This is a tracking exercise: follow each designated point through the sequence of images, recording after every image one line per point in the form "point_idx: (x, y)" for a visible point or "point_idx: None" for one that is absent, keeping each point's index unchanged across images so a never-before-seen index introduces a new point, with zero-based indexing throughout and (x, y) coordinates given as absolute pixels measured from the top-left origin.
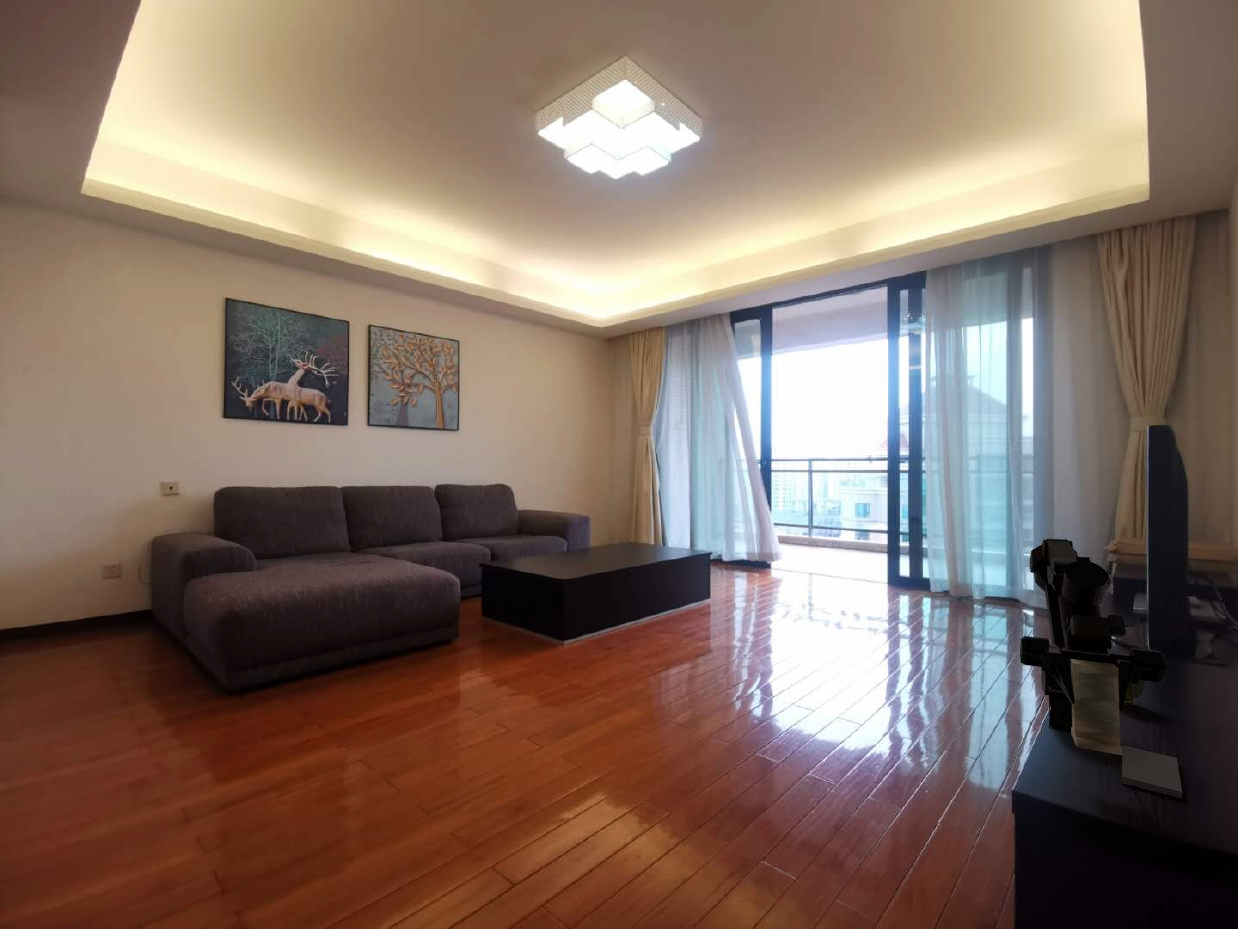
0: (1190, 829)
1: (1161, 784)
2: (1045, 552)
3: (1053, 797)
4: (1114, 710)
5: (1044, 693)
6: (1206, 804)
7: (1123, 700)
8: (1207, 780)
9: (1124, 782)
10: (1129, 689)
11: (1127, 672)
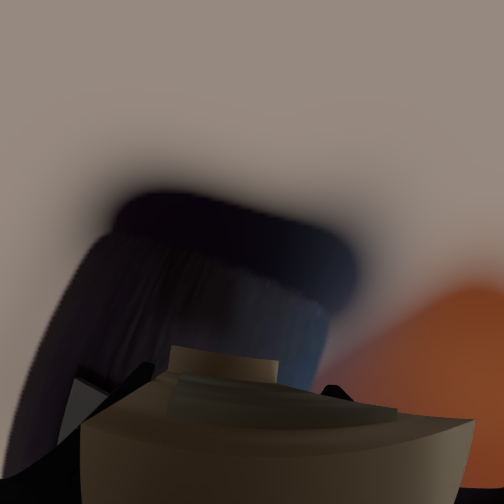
0: (116, 274)
1: (96, 401)
2: None
3: (296, 313)
4: (172, 381)
5: None
6: (52, 370)
7: (126, 384)
8: (26, 451)
9: None
10: None
11: (22, 497)
